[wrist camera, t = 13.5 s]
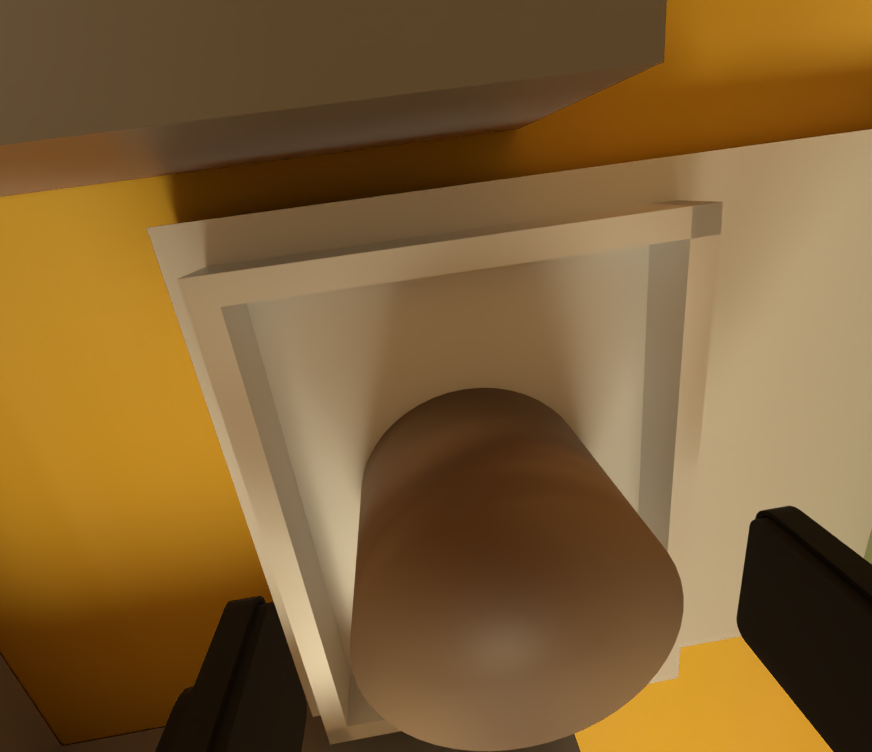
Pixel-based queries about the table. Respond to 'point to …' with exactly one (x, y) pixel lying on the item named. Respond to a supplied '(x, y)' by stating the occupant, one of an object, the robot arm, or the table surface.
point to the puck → (502, 578)
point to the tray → (546, 358)
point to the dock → (282, 125)
